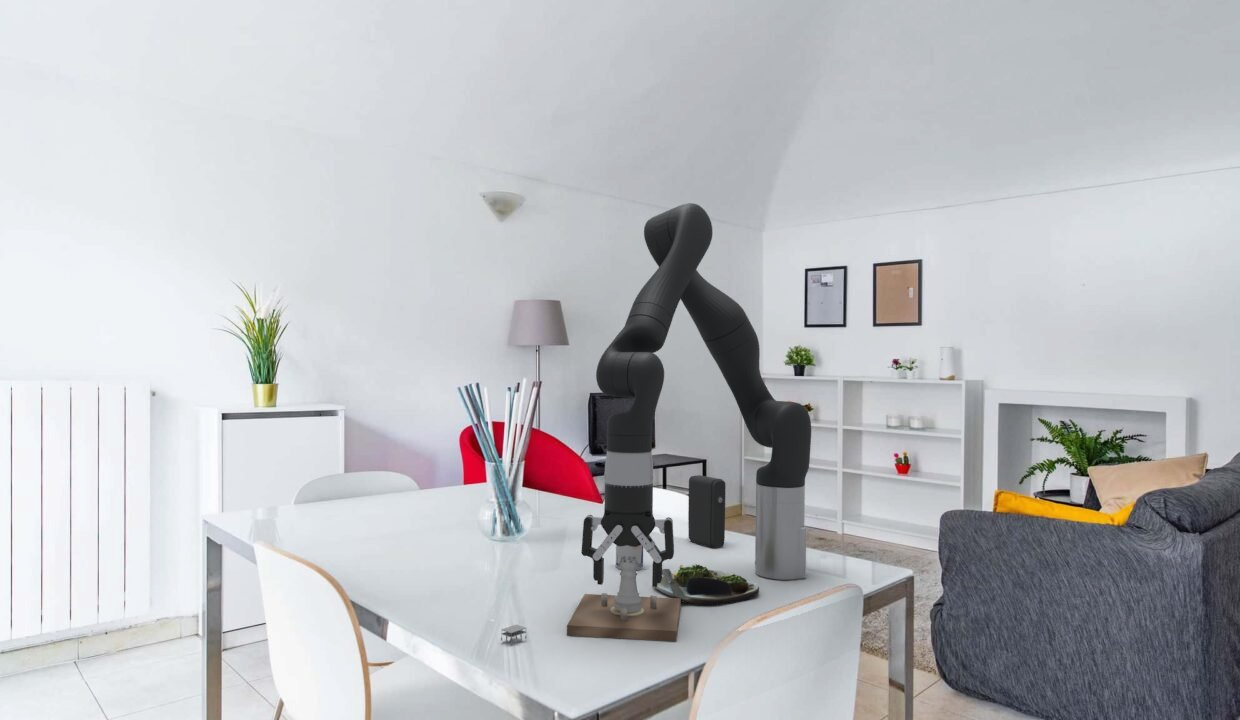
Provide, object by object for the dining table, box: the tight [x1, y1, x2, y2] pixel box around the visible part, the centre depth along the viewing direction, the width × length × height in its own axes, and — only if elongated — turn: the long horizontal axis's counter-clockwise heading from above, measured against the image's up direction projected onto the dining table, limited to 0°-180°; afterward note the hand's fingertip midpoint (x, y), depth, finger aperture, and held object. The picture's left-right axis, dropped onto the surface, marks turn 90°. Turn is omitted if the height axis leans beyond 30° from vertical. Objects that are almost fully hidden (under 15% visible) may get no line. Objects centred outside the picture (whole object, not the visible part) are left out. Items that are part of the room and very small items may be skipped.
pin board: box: [566, 592, 682, 642], centre depth 121 cm, size 16×16×3 cm
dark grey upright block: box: [687, 474, 726, 549], centre depth 174 cm, size 9×4×15 cm, turn 35°
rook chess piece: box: [614, 556, 642, 613], centre depth 121 cm, size 4×4×8 cm
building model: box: [500, 623, 527, 646], centre depth 111 cm, size 2×3×2 cm
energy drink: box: [615, 544, 644, 571], centre depth 153 cm, size 5×5×12 cm
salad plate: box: [655, 563, 760, 607], centre depth 139 cm, size 19×18×5 cm
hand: (627, 584), depth 121 cm, fingers open, 8 cm apart
